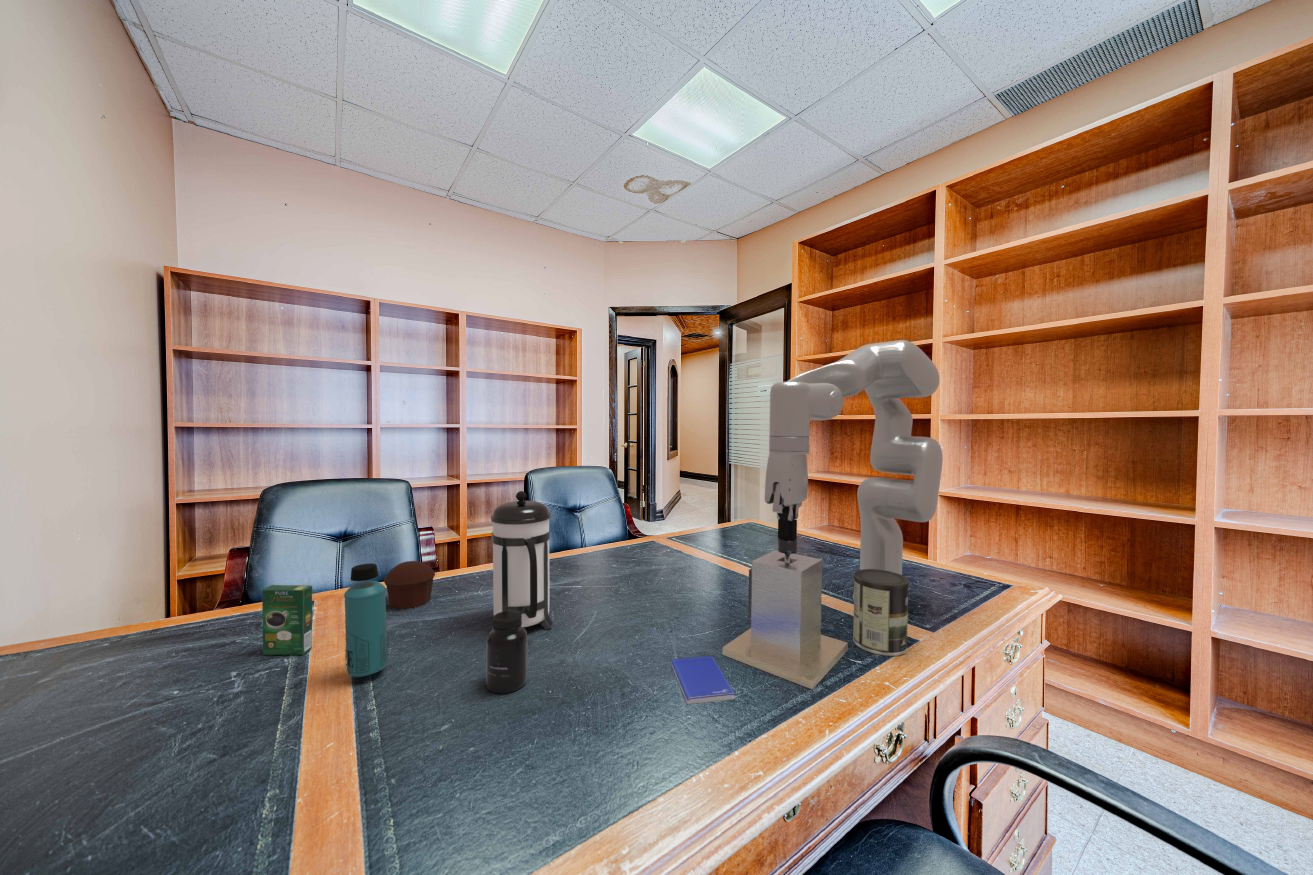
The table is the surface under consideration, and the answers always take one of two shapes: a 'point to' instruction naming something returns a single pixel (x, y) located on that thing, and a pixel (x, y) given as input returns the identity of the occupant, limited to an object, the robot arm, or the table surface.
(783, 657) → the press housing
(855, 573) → the coffee can
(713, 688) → the hard drive
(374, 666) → the beverage bottle
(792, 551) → the plunger
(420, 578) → the muffin
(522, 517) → the coffee press
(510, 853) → the table surface
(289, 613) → the coffee box
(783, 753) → the table surface
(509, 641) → the supplement bottle
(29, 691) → the table surface
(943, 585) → the table surface
